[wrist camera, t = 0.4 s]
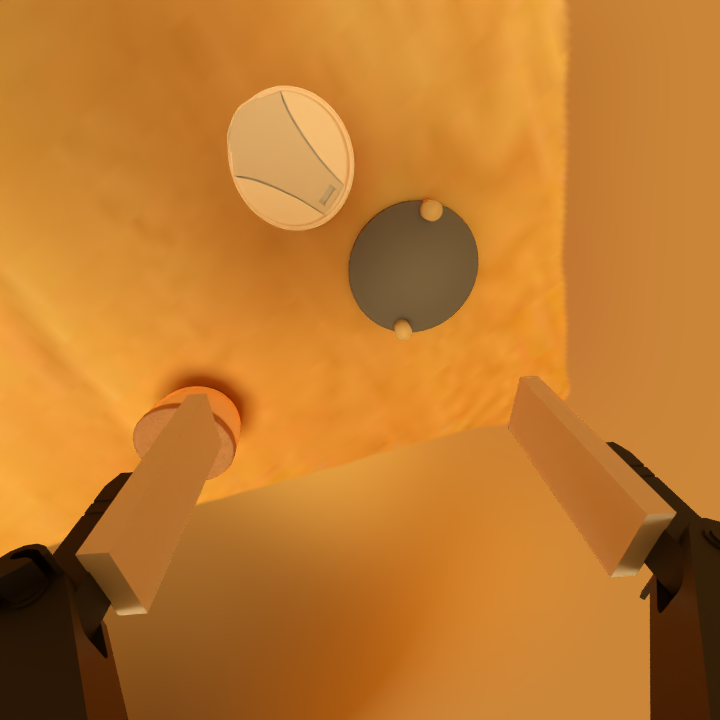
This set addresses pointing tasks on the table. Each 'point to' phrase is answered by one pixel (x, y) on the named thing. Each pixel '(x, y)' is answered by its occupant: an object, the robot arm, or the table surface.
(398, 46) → the table surface
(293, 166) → the paper cup
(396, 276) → the pad
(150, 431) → the lidded jar
